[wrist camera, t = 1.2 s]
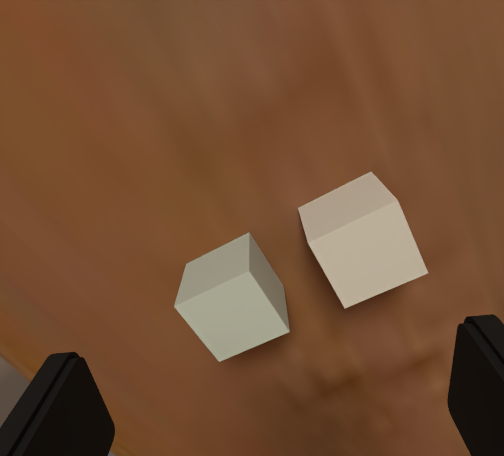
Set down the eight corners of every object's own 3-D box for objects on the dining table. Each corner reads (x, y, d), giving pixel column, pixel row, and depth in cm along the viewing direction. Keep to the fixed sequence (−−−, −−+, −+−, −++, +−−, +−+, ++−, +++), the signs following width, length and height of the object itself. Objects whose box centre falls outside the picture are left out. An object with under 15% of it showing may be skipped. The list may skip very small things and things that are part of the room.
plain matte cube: (249, 232, 32) (249, 270, 27) (283, 286, 35) (289, 331, 29) (186, 263, 33) (174, 306, 28) (223, 313, 36) (219, 361, 31)
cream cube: (371, 171, 30) (397, 200, 24) (398, 234, 32) (428, 273, 27) (298, 207, 31) (307, 242, 26) (329, 265, 34) (344, 308, 28)
